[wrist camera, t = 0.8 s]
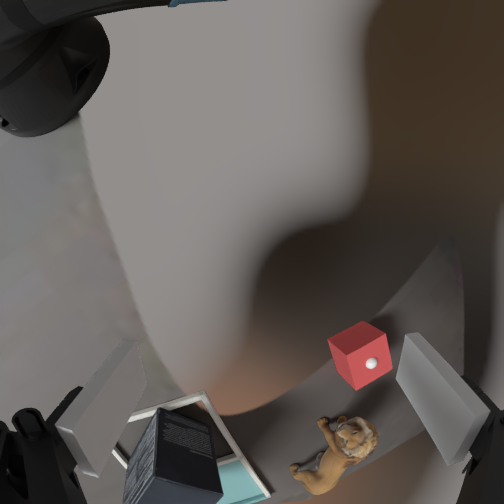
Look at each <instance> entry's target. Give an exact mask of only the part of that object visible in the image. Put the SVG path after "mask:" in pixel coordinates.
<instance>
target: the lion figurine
mask: <svg viewBox="0 0 504 504" xmlns="http://www.w3.org/2000/svg"><path fill="white" fill-rule="evenodd" d="M327 422H328V420H327V419H326V418H321V419H320V420H318V421H317V423H318V425H319V428H320V429H321V430H322V431H323V432H324V435H325V437H326V440H327V441H328V444H329V448H328V449H327V450H326V452H320V453H319V454H318V455H317V459H316V466H315V468H316V469H317V471H310V470H304V471H300V472H297V470H298V468H299V466H298V465H297V464H293V465H291V466H290V468H289V469H290V472H291V473H292V475H293V477H294V478H295V479H296V480H301V482H302V484H303V485H304V487H305V488H306V489H307V490H308V491H309V492H310V493H312V494H316V495H318V494H322V493H325V492H327V491H329V490H331V489H332V488H334V487H335V485H336V484H337V482H338V480H339V479H340V477H341V475H342V474H343V472H344V471H345V470H346V468H347V467H348V466H350V465H356V464H358V463H359V462H360V461H362V460H363V459H366V458H367V456H370V454H372V453H373V451H374V449H375V448H376V447H377V445H378V443H379V440H378V437H379V433H378V432H377V430H376V428H375V426H374V425H373V424H372V423H370V422H368V421H366V420H365V419H363V418H361V417H358V416H357V417H354V418H352V419H350V420H348V421H346V417H345V416H340V417H339V418H338V420H337V424H338V427H337V429H336V430H335V432H334V431H332V430H331V429H330V427H329V424H328V423H327Z"/></svg>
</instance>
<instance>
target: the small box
mask: <svg viewBox="0 0 504 504" xmlns="http://www.w3.org/2000/svg"><path fill="white" fill-rule="evenodd" d="M223 496H224V493H223V489H222V485H221V480H220V475H219V471H218V466H217V461H216V455H215V450H214V445H213V439H212V433H211V427H210V426H208V425H205V424H202V423H199V422H197V421H194V420H191V419H189V418H186V417H184V416H181V415H179V414H176V413H174V412H171V411H169V410H166V409H164V408H161V407H158V408H157V410H156V412H155V414H154V415H153V417H152V419H151V421H150V423H149V424H148V426H147V428H146V430H145V432H144V433H143V435H142V437H141V439H140V441H139V442H138V444H137V446H136V448H135V450H134V451H133V453H132V455H131V457H130V459H129V461H128V464H127V474H126V481H125V490H124V496H123V504H216V503H217V502H218V501H219V500H220V499H221V498H222V497H223Z"/></svg>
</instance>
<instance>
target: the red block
mask: <svg viewBox="0 0 504 504" xmlns="http://www.w3.org/2000/svg"><path fill="white" fill-rule="evenodd" d="M328 343H329V346H330V349H331V352H332V356H333V359H334V362H335V365H336V369H337V372H338V373H339V374H340V375H341V376H342V377H343V378H344V379H345V380H346V381H347V382H348V383H349V384H350V385H351V386H352V387H353V388H354V389H355V390H358V389H360V388H362V387H363V386H365V385H367V384H369V383H370V382H372V381H374V380H375V379H377V378H379V377H380V376H382V375H384V374H385V373H387V372H388V371H390V370H392V369H393V368H392V362H391V357H390V352H389V347H388V342H387V337H386V333H384V332H383V331H381V330H379V329H377V328H376V327H374V326H372V325H370V324H369V323H367V322H365V321H361V322H359V323H357V324H356V325H354V326H352V327H350V328H348V329H346V330H344V331H342V332H340V333H338V334H336V335H334V336H333V337H331V338H329V339H328Z"/></svg>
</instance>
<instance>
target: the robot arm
mask: <svg viewBox="0 0 504 504" xmlns="http://www.w3.org/2000/svg"><path fill="white" fill-rule="evenodd" d="M210 1H211V2H212V1H226V0H0V128H1V129H3V130H5V131H7V132H9V133H11V134H13V135H15V136H19V137H34V136H39V135H42V134H45V133H47V132H49V131H52V130H54V129H55V128H57V127H59V126H60V125H62V124H63V123H65V122H66V121H68V120H69V119H70V118H71V117H73V116H74V115H75V114H76V113H77V112H78V111H79V110H80V109H81V108H82V107H83V106H84V105H85V104H86V103H87V101H88V100H89V99H90V98H91V97H92V95H93V94H94V92H95V91H96V89H97V88H98V86H99V85H100V83H101V81H102V79H103V77H104V75H105V72H106V69H107V67H108V63H109V58H110V45H109V40H108V38H107V35H106V33H105V31H104V29H103V27H102V25H101V24H100V22H99V21H98V20H97V19H96V18H95V17H94V16H97V15H102V14H106V13H112V12H117V11H123V10H128V9H135V8H143V7H152V6H165V5H168V7H176V6H177V5H179V4H185V3H196V2H210ZM396 380H397V382H398V383H399V385H400V387H401V388H402V390H403V391H404V393H405V395H406V396H407V398H408V399H409V401H410V403H411V404H412V406H413V407H414V409H415V411H416V412H417V414H418V416H419V417H420V419H421V421H422V422H423V424H424V426H425V427H426V429H427V431H428V432H429V434H430V436H431V437H432V439H433V441H434V443H435V444H436V446H437V448H438V449H439V451H440V453H441V455H442V456H443V458H444V460H445V462H446V463H447V465H448V466H450V465H453V464H456V463H458V462H461V461H463V459H464V458H465V456H466V455H467V453H468V451H470V453H471V455H472V457H471V459H470V461H469V462H468V464H467V465H466V467H465V468H464V470H463V472H462V473H464V472H465V471H466V470H467V471H466V476H465V479H464V482H463V485H462V488H461V491H460V494H459V497H458V500H457V503H456V504H504V410H501V411H500V409H499V408H498V407H497V406H496V405H495V404H494V403H493V402H492V401H491V400H490V398H489V397H488V396H487V395H486V394H485V393H483V391H482V390H481V388H479V386H478V385H477V384H476V383H475V382H474V381H473V380H472V379H470V378H468V377H466V376H464V375H463V376H459V375H458V374H457V373H456V372H455V370H454V369H453V368H452V367H451V366H450V365H449V364H448V363H447V362H446V361H445V360H444V359H443V358H442V357H441V355H440V354H439V353H438V352H437V351H436V350H435V349H434V348H433V347H432V346H431V345H430V344H429V343H428V342H427V341H426V340H425V339H424V338H423V337H422V336H421V335H420V334H419V333H418V332H417V333H410V334H405V339H404V344H403V349H402V354H401V358H400V363H399V367H398V371H397V375H396ZM146 386H147V382H146V378H145V374H144V370H143V366H142V361H141V357H140V352H139V348H138V343H137V341H136V340H124V339H123V341H122V342H121V343H120V344H119V345H118V347H117V348H116V349H115V350H114V351H113V352H112V354H111V355H110V356H109V357H108V359H107V360H106V361H105V362H104V363H103V365H102V366H101V367H100V368H99V369H98V371H97V372H96V373H95V374H94V376H93V377H92V378H91V379H90V380H89V382H88V383H87V384H86V385H85V387H80V386H78V387H77V388H75V389H73V390H72V391H70V392H69V393H68V394H67V396H66V397H65V398H64V400H62V402H61V403H60V404H59V406H57V408H56V409H55V410H54V411H53V412H52V414H51V415H50V416H49V417H48V419H47V420H46V421H44V419H43V417H42V415H41V413H40V411H38V410H37V409H34V408H24V409H21V410H19V411H18V412H16V413H15V415H14V416H13V417H12V423H13V425H14V427H15V428H16V430H17V432H14V431H10V430H9V429H8V427H7V425H6V424H5V423H4V422H3V421H0V504H87V502H86V499H85V497H84V494H83V491H82V489H81V486H80V483H79V481H78V478H77V475H76V473H75V472H74V468H75V466H76V465H78V466H79V468H80V469H81V471H82V472H83V473H85V474H89V475H92V476H95V477H98V478H99V477H100V475H101V473H102V471H103V469H104V467H105V465H106V463H107V461H108V459H109V457H110V455H111V453H112V451H113V449H114V447H115V445H116V443H117V441H118V439H119V437H120V435H121V434H122V432H123V430H124V428H125V426H126V424H127V422H128V420H129V418H130V416H131V415H132V413H133V411H134V409H135V407H136V405H137V403H138V401H139V400H140V398H141V396H142V394H143V392H144V390H145V388H146Z"/></svg>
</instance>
